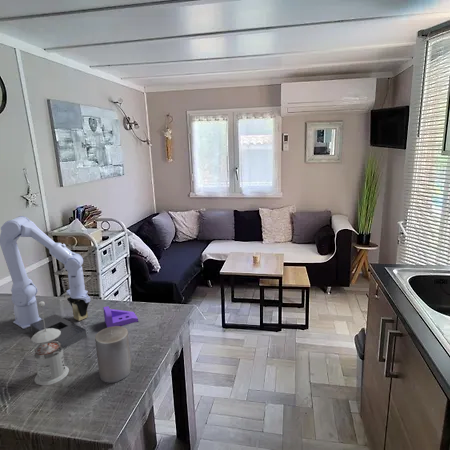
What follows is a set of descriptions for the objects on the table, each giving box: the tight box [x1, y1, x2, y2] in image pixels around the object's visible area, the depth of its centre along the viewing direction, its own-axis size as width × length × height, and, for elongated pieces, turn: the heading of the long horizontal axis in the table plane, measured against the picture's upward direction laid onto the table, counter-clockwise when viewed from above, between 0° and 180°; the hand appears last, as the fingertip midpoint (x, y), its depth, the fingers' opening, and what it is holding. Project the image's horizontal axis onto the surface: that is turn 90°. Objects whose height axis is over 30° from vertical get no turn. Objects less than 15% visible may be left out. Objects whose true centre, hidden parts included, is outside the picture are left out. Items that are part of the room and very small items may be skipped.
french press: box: [30, 300, 70, 386], centre depth 104 cm, size 10×12×25 cm
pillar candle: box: [94, 326, 132, 384], centre depth 104 cm, size 10×10×15 cm
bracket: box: [102, 305, 139, 328], centre depth 137 cm, size 12×7×7 cm, turn 119°
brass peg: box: [71, 300, 89, 321], centre depth 140 cm, size 4×4×7 cm
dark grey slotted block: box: [30, 313, 87, 350], centre depth 129 cm, size 22×10×3 cm, turn 54°
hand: (80, 314), depth 141 cm, fingers closed on brass peg, 4 cm apart
